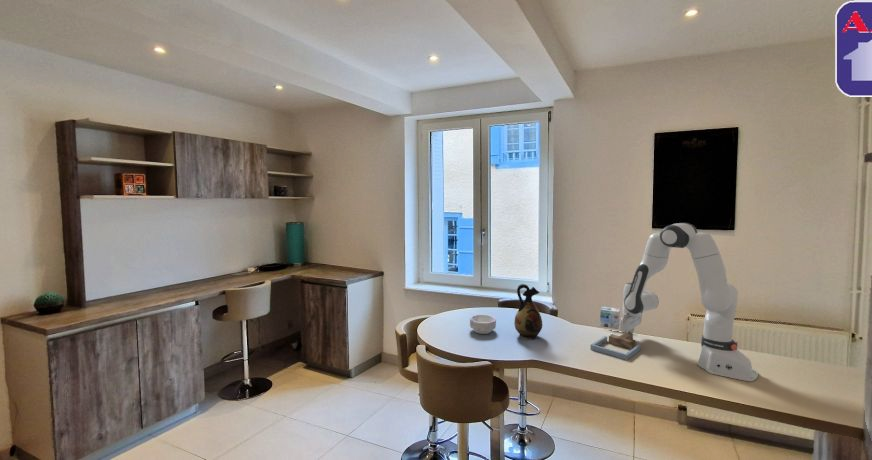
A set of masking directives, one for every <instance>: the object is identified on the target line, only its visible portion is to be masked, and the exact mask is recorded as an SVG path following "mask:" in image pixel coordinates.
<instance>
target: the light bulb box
mask: <svg viewBox="0 0 872 460" xmlns="http://www.w3.org/2000/svg"><path fill="white" fill-rule="evenodd" d="M599 313H600V315H599V327H601V328H602V327H603V328H609V329H614V330H620V323H621V309H620V308H618V307H617V308H616V307H609V306H601V308H600V311H599Z"/></svg>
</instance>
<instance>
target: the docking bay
mask: <svg viewBox="0 0 872 460" xmlns="http://www.w3.org/2000/svg"><path fill="white" fill-rule="evenodd" d="M607 341H608V336H606V335H605V336H602V337H601V338H600V339H598V340H596V341H595V342H593V343H591V344H590V351H594V352H598V353H601V354H605V355H608V356H611V357H615V358H618V359H622V360H625V361H628V360H629V359H630V358H632V357H633V356H634V355H636V354H637V353H638V352H640V351H641V345H640V344H637V345H635V347H634V348H633V349H629V350H628V351H627V352H626V353H624V352H620V351H617V350H613V349H610V348H606V347H603V346H601V345H603V344H604V343H606V342H607Z"/></svg>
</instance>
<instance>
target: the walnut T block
mask: <svg viewBox="0 0 872 460" xmlns="http://www.w3.org/2000/svg"><path fill="white" fill-rule="evenodd" d="M608 344H610V345H614V346H618V347H619V348H620V347H621V348H624V349H628V350H631V349H633V348H634V347H636V340H635V339H634V333H633V334H631V333H628V332H623V333H622V334H621V335H617V334H610V335H608Z"/></svg>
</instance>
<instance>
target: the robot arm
mask: <svg viewBox="0 0 872 460" xmlns="http://www.w3.org/2000/svg"><path fill="white" fill-rule="evenodd" d="M644 248H645V249H644V252H643V255H642V258H641V261H640V263H639V265H638V266H637V267H636V270H635V272H634V276H633V278H632V281H631V282H626V283H625V285H624V287H623V293H622V298H623V299H622V300H623V301H622V302H623V303H622V311H621V312H622V315H623V316H622V317H621V318H620V323H619V330H620V331H621V332H623V333H625V332H627V333H631V334H633V335H634V331H635V328H637V327H638V326H640V325H641V323H642V320H643V319H642V318H643V312H649V311H651V310H655V309H657V307H658V306H659V301H660V300H659V298H658V296H657V294H655V292H652V291H650V290H648V289H646V288H645V287H646V285H647V282H648V280H649V279H650V278H651V277H653V276H655V275H656V274H658V273H660V272H661V271H663V270H665V268H666V266H667V264H668V261H669V257H670V252H671V250H672V249H671V248H677V249H678V248H679V249H684V248H686V249H687V250H688V251H689V253H690V256H691V259H692V262H693V265H694V269H695V271H696V273H697V279H698V285H699V289H700V294H701V295H700V296H701V304H702V306H703V307H704V308H705V310H706V312H705V314H704V315H705V316H704V319H703V334H702V335H701V339H700V341H701V342H700V344H701V350H700V351H701V352H700V354H699V358H698V359H697V362H696V363H697V366H699V367H700V368H701V369H703V370H705V371H706V372H707V373H709V374H711V375H717V376H720V377H721V376H722V377H727V378H731V379H736V380H740V381H745V382H755V381H756V380H757V379H758V377H759V372H758V371H757V370H755V369H753V365H752V362H751V360H750V358H749V357H747V356H746V355H745V354H744V353H743V352H742V351H740V350H739V349H738V341H735V340H734V339H733V333H734V323H735V316H736V312H737V306H738V299H739V293H738V291H739V290H738V289H737V288H736V286H734V285H733V284H731V283H729V282H728V279H727V274H726V272H727V271H726V266H725V264H724V261H723V258H722V256H721V252H720V250H719V248H718V246H717V244H716V241H715V239H714V238H713V236H712V235H711V234H710V233H707V232H700V231H699V232H698V229H697V227H695V225H693V224H691V223H689V222H679V223H677V222H676V223H673V224H669V225H667V226H665V227H664V228H663V229H662V230H661V231H660V232H654V233H652V234H651V235H649V237H648V240H647V242H646V245H645V247H644Z"/></svg>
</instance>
